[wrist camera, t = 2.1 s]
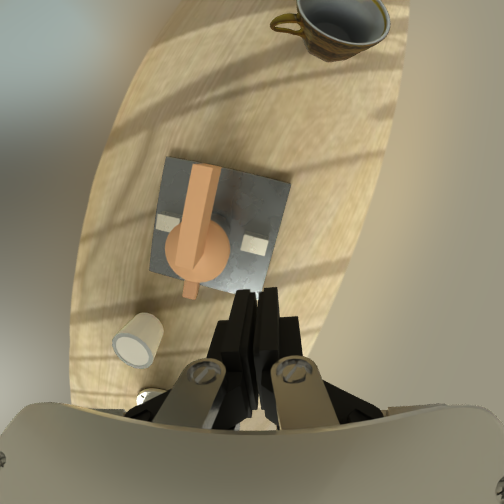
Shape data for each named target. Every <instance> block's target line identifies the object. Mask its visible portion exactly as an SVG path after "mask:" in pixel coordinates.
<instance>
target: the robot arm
mask: <svg viewBox="0 0 504 504" xmlns="http://www.w3.org/2000/svg"><path fill="white" fill-rule="evenodd" d="M258 397H260V404H261V409H262V410H265V417H266V418H267V419H269V420H270V421H271V422H273V423H274V424H275V425H276V430H273V431H272V430H271V431H239V430H240V422H241V421H243V420H244V419H246V418H252V410H257V408H258ZM136 400H137V406H135V407H133V408H132V409H130V410H129V411H128V412H125V410H124V409H90V408H83V407H79V406H75V405H69V404H64V403H55V402H44V403H43V402H42V403H34V404H30V405H28V406H26V407H24V408H23V409H22V410H21V411H20V412H19V413H18V414H17V415H16V416H15V417H14V419H13V420H12V421H11V422H10V423H9V425H8V426H7V427H6V429H5V430H4V432H3V433H2V434H1V436H0V504H504V425H503V424H502V422H501V421H500V420H499V419H498V418H497V416H496V415H495V414H493V413H492V412H491V411H490V410H488V409H486V408H484V407H481V406H476V405H446V404H439V403H438V404H428V405H416V406H400V407H388V409H387V410H380V409H379V408H377V407H376V406H374V405H372V404H370V403H368V402H366V401H364V400H362V399H360V398H358V397H356V396H354V395H352V394H350V393H348V392H346V391H344V390H341V389H339V388H338V387H336V386H334V385H332V384H330V383H328V382H326V381H324V380H322V378H321V375H320V372H319V370H318V368H317V365H316V364H315V363H314V361H312V360H311V359H309V358H307V357H304V356H303V354H302V345H301V337H300V329H299V321H298V316H294V317H280V315H279V302H278V289H277V287H271V288H264V291H263V292H259V297H258V307H257V300H256V293H255V292H251V291H250V289H241V290H236V294H235V297H234V301H233V305H232V309H231V313H230V316H229V320H220V321H218V323H217V326H216V329H215V332H214V335H213V338H212V342H211V345H210V348H209V351H208V354H207V357H206V358H204V359H198V360H196V361H193V362H191V363H190V364H189V365H187V366H186V367H185V369H184V370H183V372H182V373H181V375H180V376H179V378H178V380H177V381H176V383H175V385H174V386H173V388H172V389H170V390H168V391H165V390H162V389H155V388H149V389H144V390H142V391H141V392H140V393H139V394H138V396H137V399H136Z"/></svg>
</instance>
